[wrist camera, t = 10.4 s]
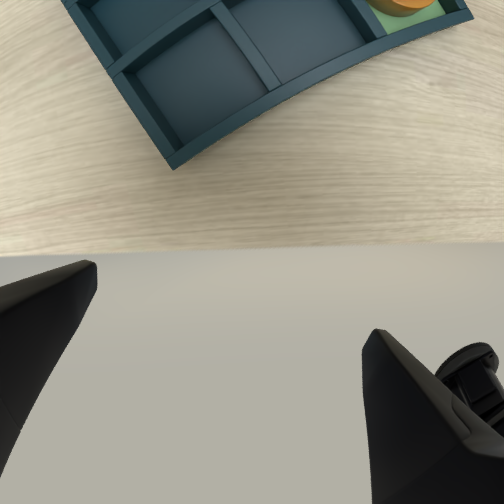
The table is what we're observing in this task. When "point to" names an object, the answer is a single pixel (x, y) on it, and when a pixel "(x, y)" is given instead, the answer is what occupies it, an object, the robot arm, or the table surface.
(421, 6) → the cylinder
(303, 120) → the table surface
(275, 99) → the grid
